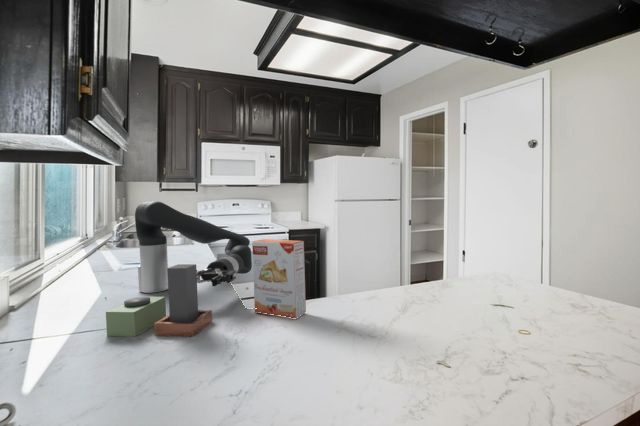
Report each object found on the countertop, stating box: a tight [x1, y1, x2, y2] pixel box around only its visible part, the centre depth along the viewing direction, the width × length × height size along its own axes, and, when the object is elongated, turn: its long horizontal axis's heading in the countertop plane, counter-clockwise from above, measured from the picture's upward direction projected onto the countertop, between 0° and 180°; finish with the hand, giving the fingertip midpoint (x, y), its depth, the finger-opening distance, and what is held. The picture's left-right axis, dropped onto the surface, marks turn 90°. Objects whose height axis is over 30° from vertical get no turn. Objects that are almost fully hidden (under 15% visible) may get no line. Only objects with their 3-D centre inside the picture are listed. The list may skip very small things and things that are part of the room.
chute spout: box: [167, 263, 199, 322], centre depth 86 cm, size 5×5×16 cm
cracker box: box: [251, 238, 307, 319], centre depth 95 cm, size 14×6×21 cm, turn 62°
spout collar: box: [153, 309, 213, 337], centre depth 86 cm, size 10×10×3 cm
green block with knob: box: [105, 296, 167, 338], centre depth 89 cm, size 8×13×7 cm, turn 172°
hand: (198, 282), depth 94 cm, fingers open, 8 cm apart
